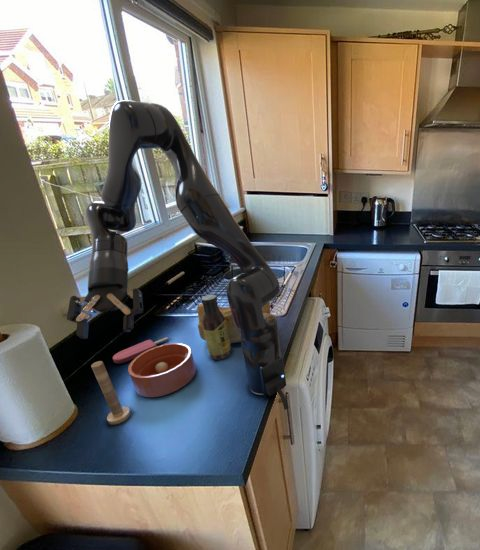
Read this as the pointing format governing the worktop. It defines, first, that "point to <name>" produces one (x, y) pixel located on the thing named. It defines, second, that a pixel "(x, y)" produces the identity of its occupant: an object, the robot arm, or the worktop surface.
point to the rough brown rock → (231, 326)
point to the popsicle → (135, 351)
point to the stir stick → (110, 395)
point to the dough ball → (161, 367)
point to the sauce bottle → (215, 329)
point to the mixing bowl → (168, 381)
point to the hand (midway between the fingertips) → (105, 334)
